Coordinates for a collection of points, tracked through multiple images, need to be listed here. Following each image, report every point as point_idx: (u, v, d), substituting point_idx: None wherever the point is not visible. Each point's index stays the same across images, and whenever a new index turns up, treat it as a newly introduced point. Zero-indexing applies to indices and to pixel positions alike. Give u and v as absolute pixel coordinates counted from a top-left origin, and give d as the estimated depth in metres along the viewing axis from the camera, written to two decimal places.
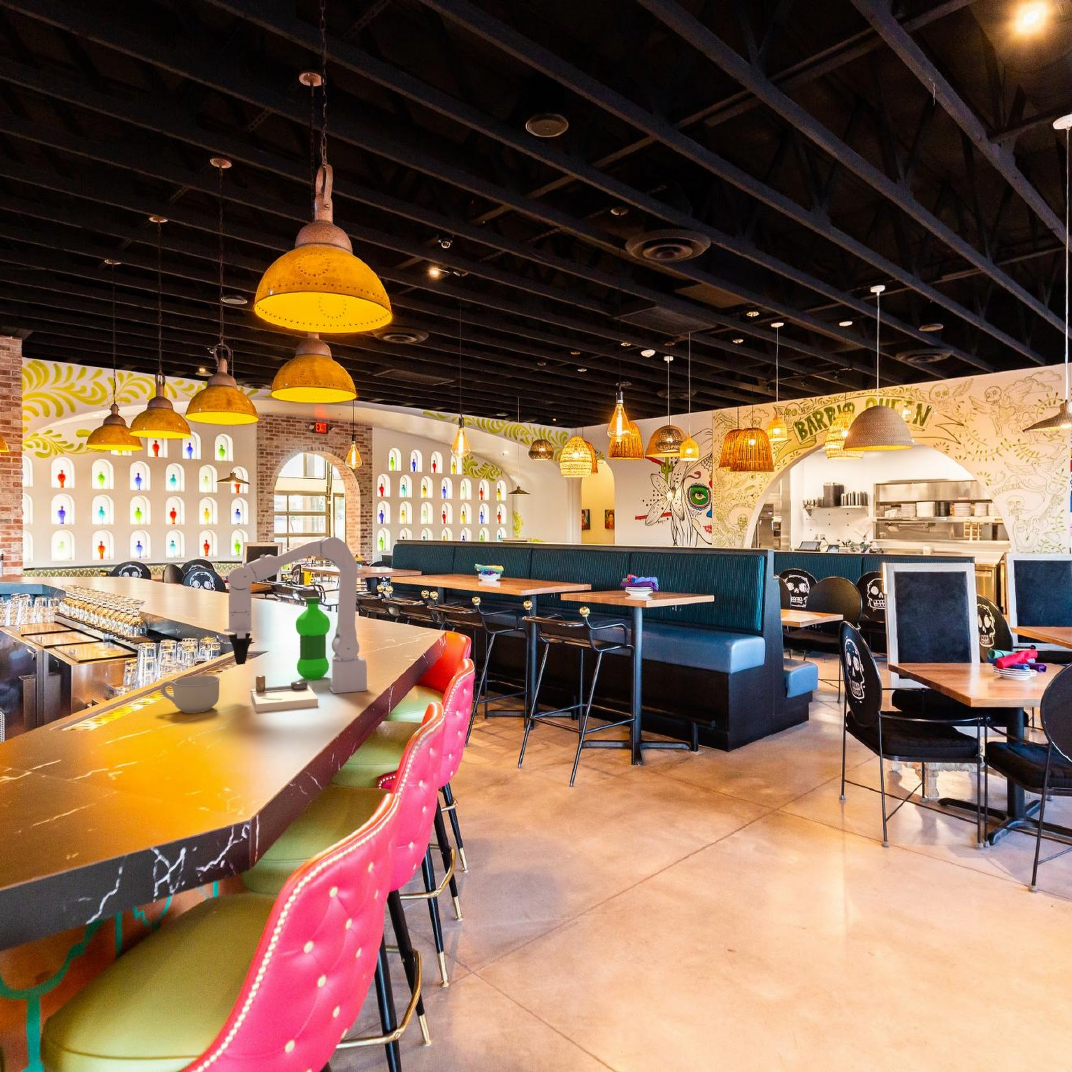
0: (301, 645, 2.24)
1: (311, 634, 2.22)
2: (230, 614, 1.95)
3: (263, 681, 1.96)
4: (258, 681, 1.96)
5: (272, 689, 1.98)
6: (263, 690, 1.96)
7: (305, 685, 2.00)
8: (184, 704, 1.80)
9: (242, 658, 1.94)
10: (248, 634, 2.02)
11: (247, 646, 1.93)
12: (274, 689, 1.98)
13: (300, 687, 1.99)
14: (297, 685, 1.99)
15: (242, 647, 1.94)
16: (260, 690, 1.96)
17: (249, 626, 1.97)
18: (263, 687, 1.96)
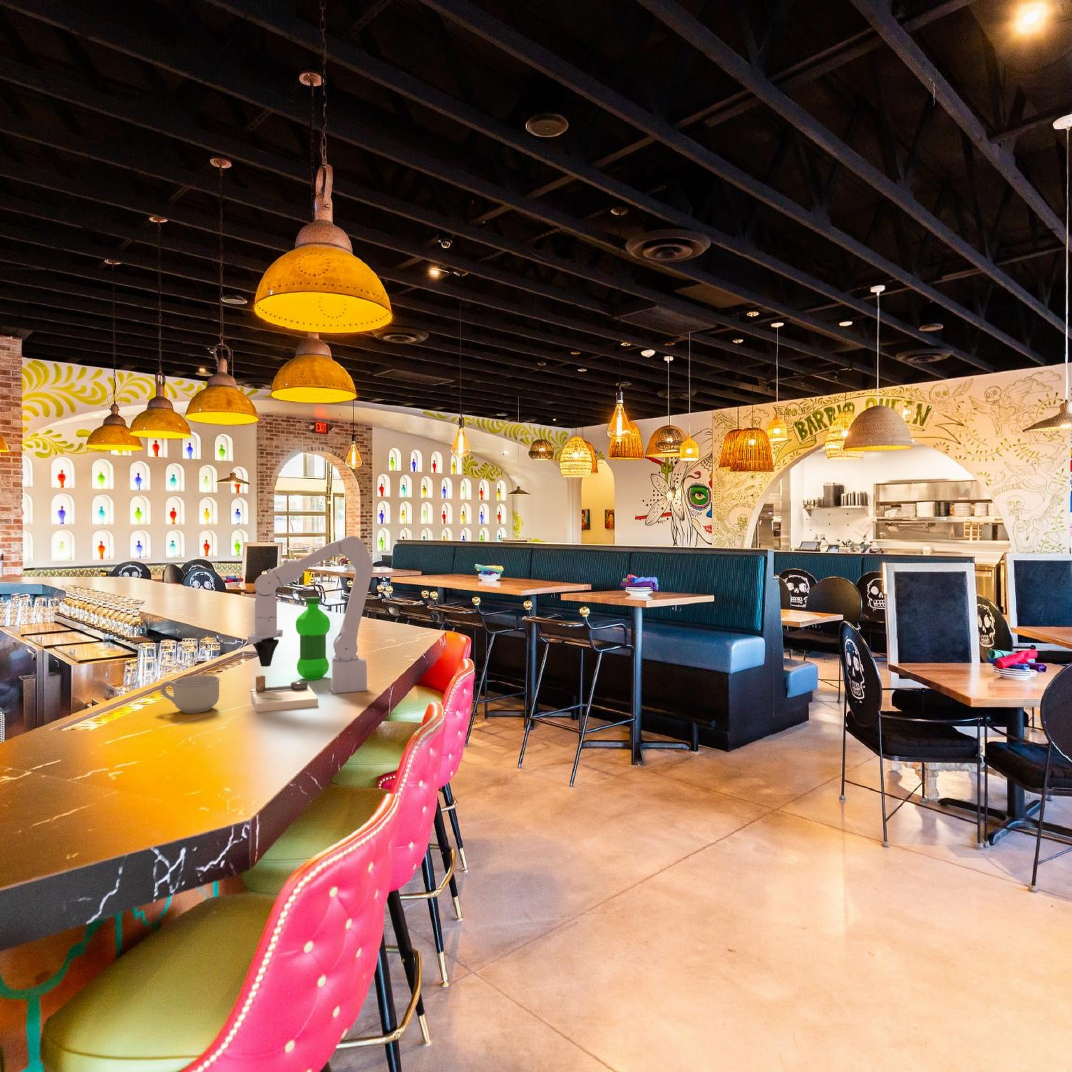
0: (301, 645, 2.24)
1: (311, 633, 2.22)
2: (255, 619, 2.02)
3: (263, 681, 1.96)
4: (258, 681, 1.96)
5: (272, 689, 1.98)
6: (263, 690, 1.96)
7: (305, 685, 2.00)
8: (184, 704, 1.80)
9: (265, 661, 2.02)
10: (273, 641, 2.03)
11: (267, 649, 2.01)
12: (274, 689, 1.98)
13: (300, 687, 1.99)
14: (297, 685, 1.99)
15: (265, 650, 2.02)
16: (260, 690, 1.96)
17: (270, 632, 2.01)
18: (263, 687, 1.96)
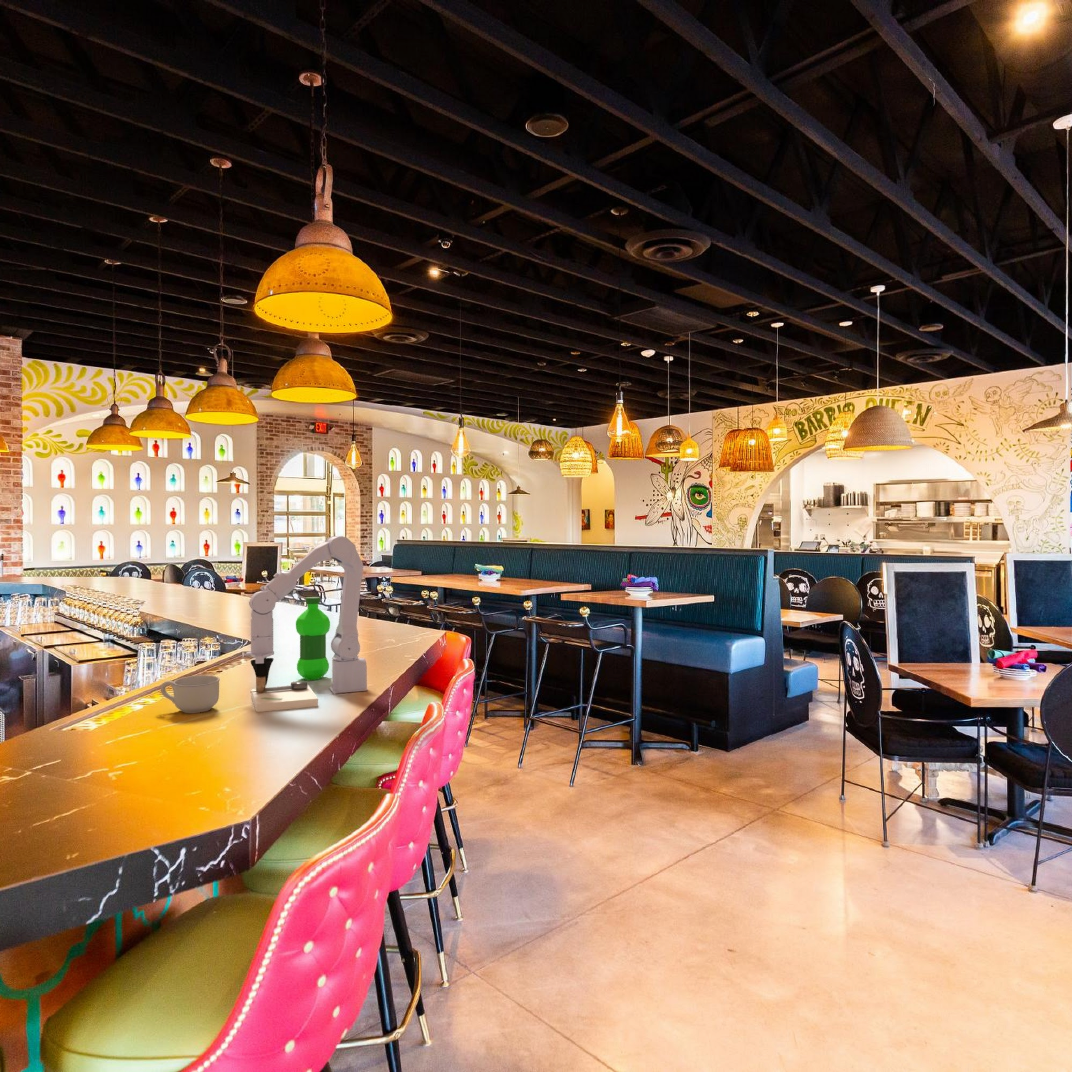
0: (301, 645, 2.24)
1: (311, 634, 2.22)
2: (251, 638, 1.97)
3: (263, 681, 1.96)
4: (258, 681, 1.95)
5: (272, 689, 1.97)
6: (263, 690, 1.96)
7: (305, 685, 2.00)
8: (184, 704, 1.80)
9: None
10: (271, 660, 1.99)
11: (267, 668, 1.98)
12: (274, 689, 1.97)
13: (301, 687, 1.99)
14: (297, 685, 1.99)
15: (263, 669, 1.98)
16: (261, 690, 1.95)
17: (270, 650, 1.98)
18: (263, 687, 1.96)
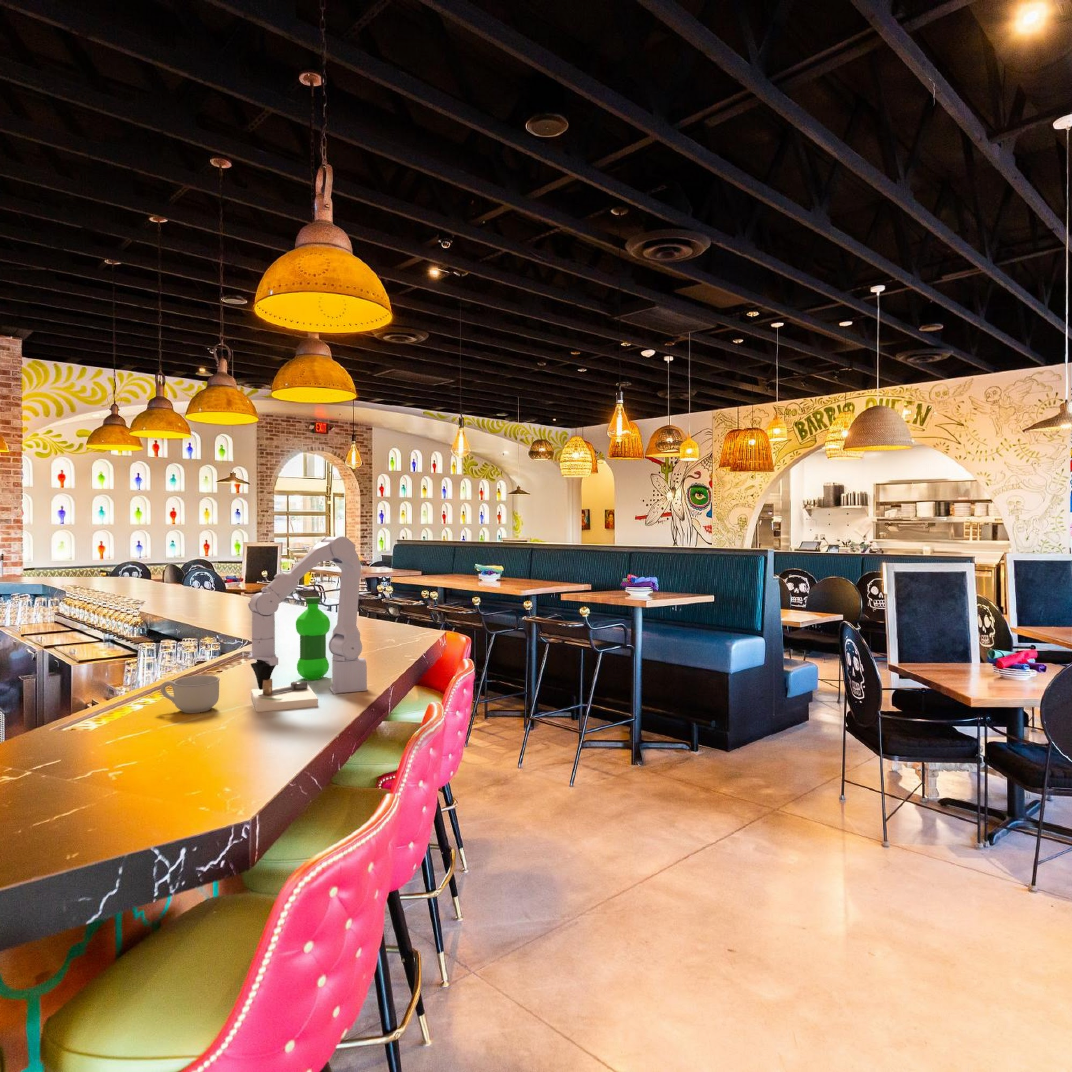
0: (301, 645, 2.24)
1: (311, 633, 2.22)
2: (256, 641, 1.92)
3: (271, 684, 1.93)
4: (267, 684, 1.92)
5: (278, 691, 1.95)
6: (271, 693, 1.93)
7: (307, 684, 2.01)
8: (184, 704, 1.80)
9: None
10: None
11: (271, 671, 1.94)
12: (280, 691, 1.95)
13: (304, 687, 2.00)
14: (301, 685, 1.99)
15: (265, 672, 1.94)
16: (269, 693, 1.92)
17: (274, 652, 1.95)
18: (271, 690, 1.93)
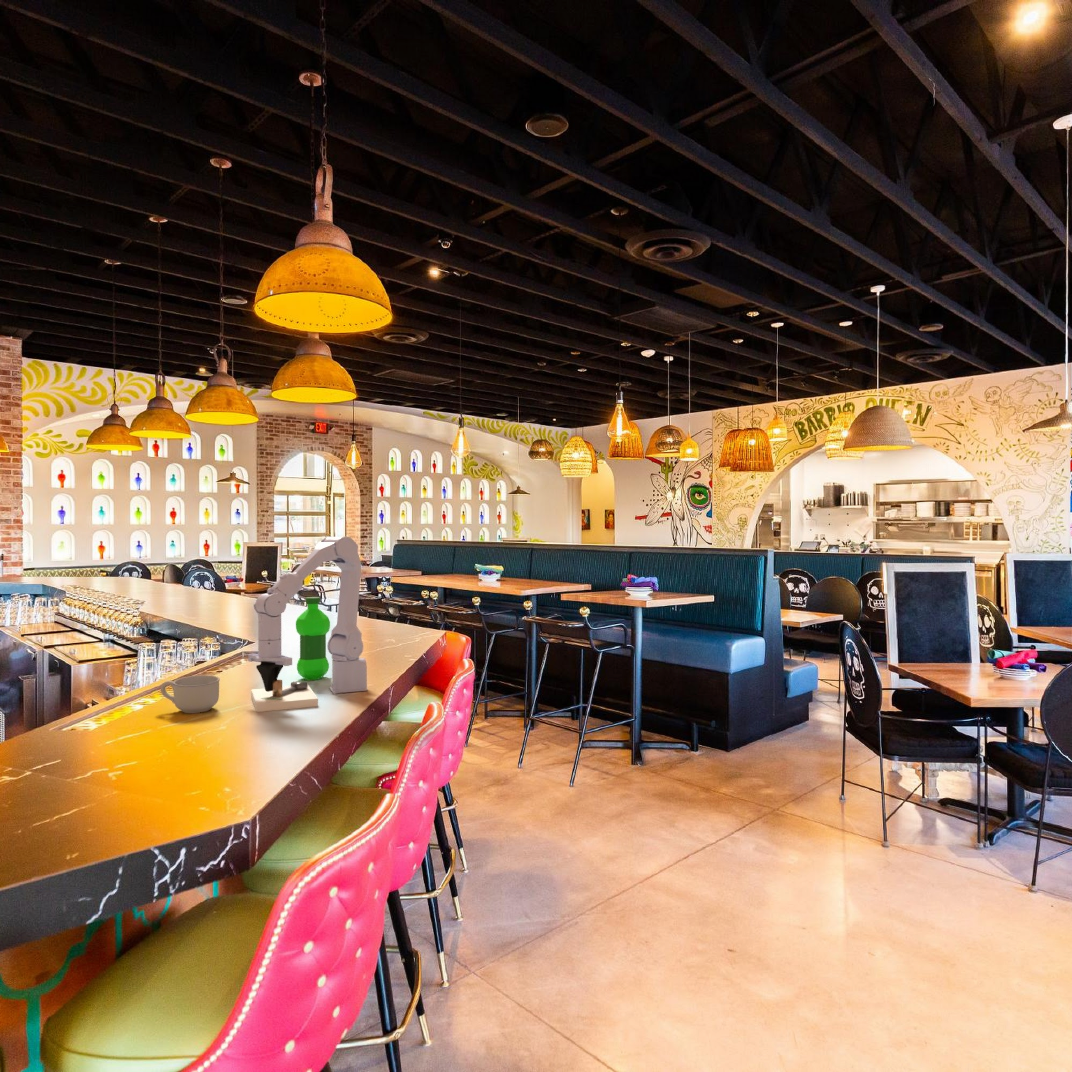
0: (301, 645, 2.24)
1: (311, 633, 2.22)
2: (265, 642, 1.90)
3: None
4: (279, 685, 1.91)
5: (286, 692, 1.94)
6: (282, 694, 1.92)
7: (307, 684, 2.02)
8: (184, 704, 1.80)
9: (272, 684, 1.92)
10: None
11: (279, 672, 1.93)
12: (287, 692, 1.95)
13: (306, 686, 2.01)
14: (304, 684, 2.00)
15: (272, 673, 1.92)
16: (281, 694, 1.91)
17: None
18: (282, 691, 1.92)
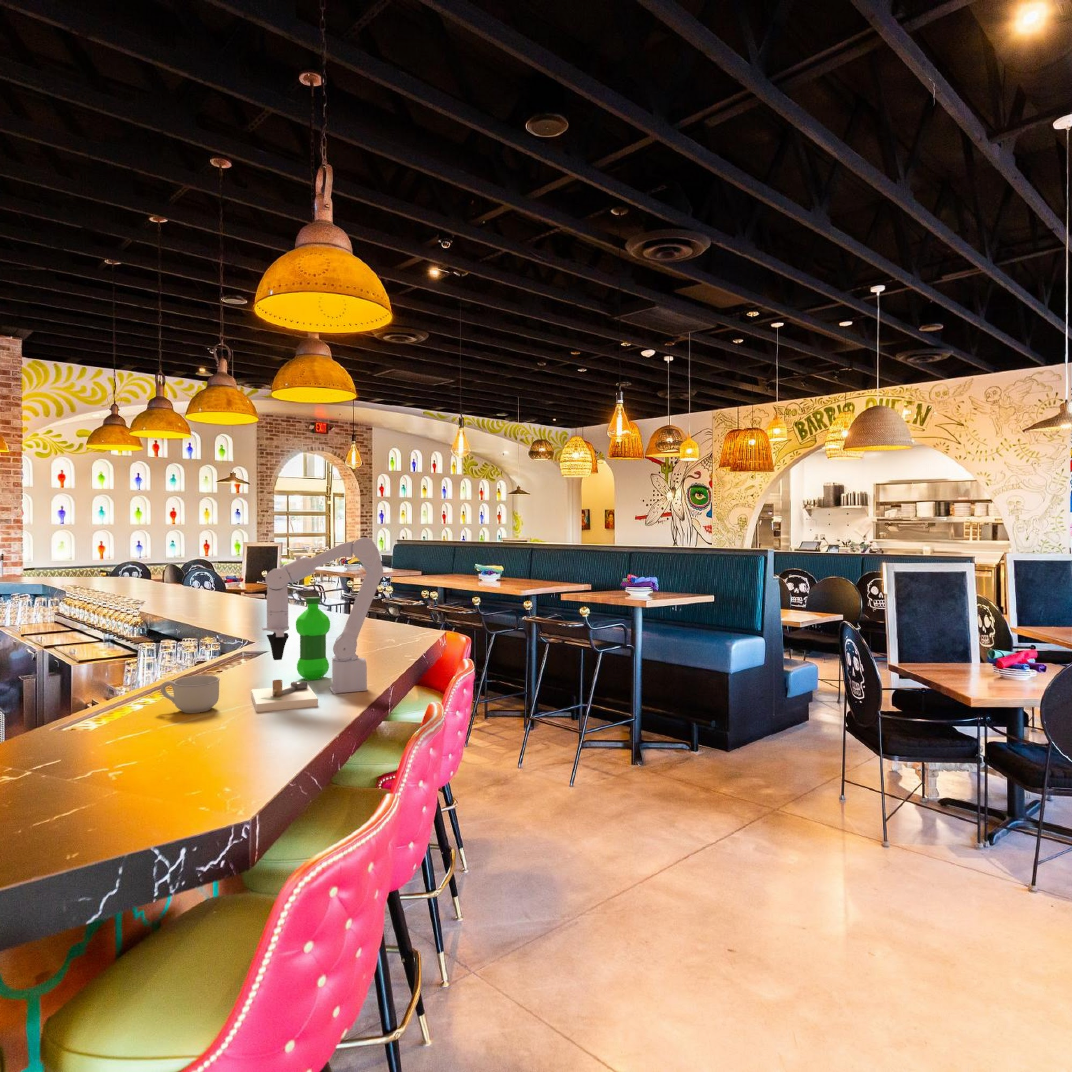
0: (301, 645, 2.24)
1: (311, 633, 2.22)
2: (268, 613, 2.03)
3: None
4: (279, 685, 1.91)
5: (286, 692, 1.94)
6: (282, 694, 1.92)
7: (307, 684, 2.02)
8: (184, 704, 1.80)
9: (279, 654, 2.05)
10: (286, 634, 2.06)
11: (284, 643, 2.04)
12: (287, 692, 1.95)
13: (306, 686, 2.01)
14: (304, 684, 2.00)
15: (279, 643, 2.05)
16: (281, 694, 1.91)
17: (286, 625, 2.05)
18: (282, 691, 1.92)
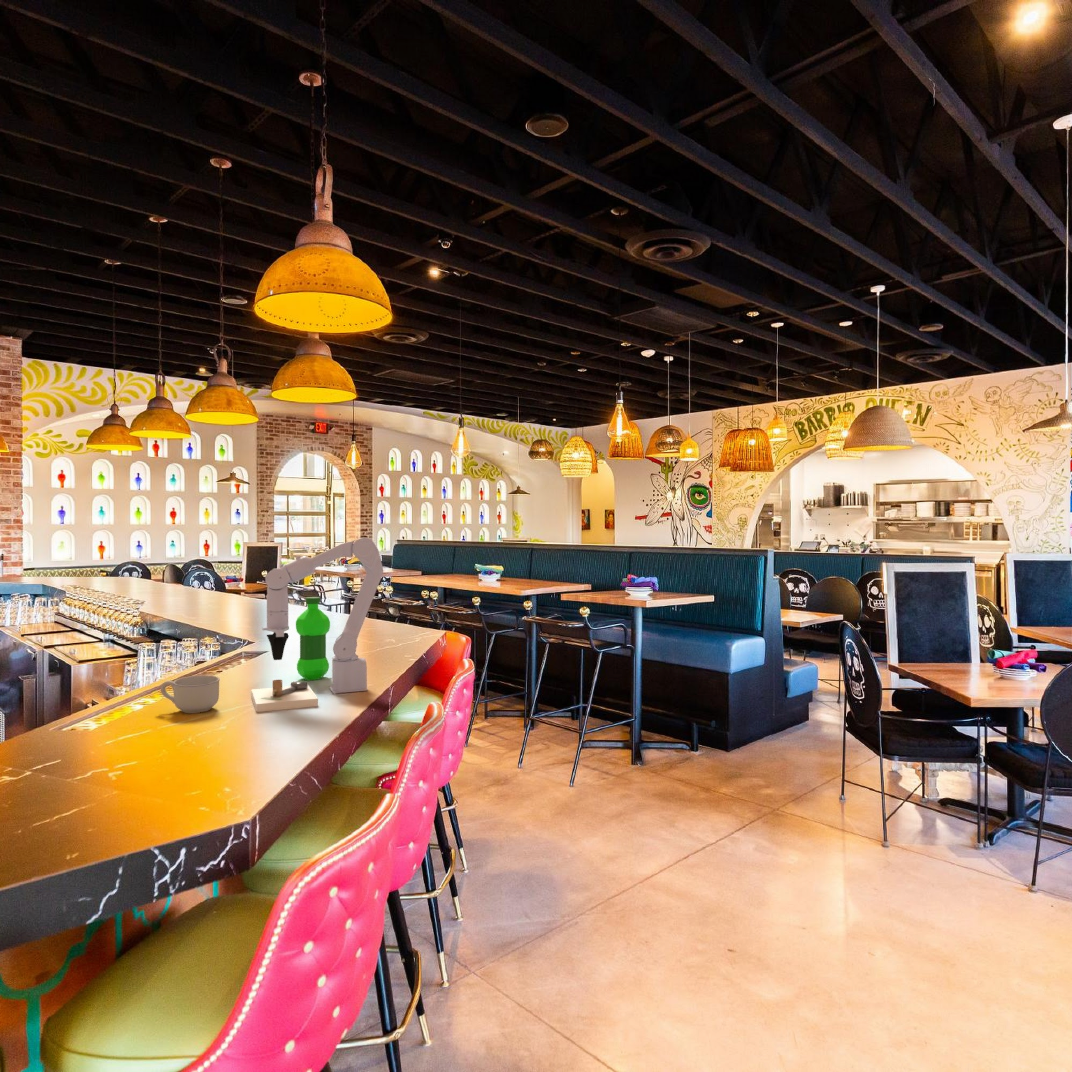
0: (301, 645, 2.24)
1: (311, 633, 2.22)
2: (268, 613, 2.03)
3: None
4: (279, 685, 1.91)
5: (286, 692, 1.94)
6: (282, 694, 1.92)
7: (307, 684, 2.02)
8: (184, 704, 1.80)
9: (279, 654, 2.05)
10: (286, 634, 2.06)
11: (284, 643, 2.04)
12: (287, 692, 1.95)
13: (306, 686, 2.01)
14: (304, 684, 2.00)
15: (279, 643, 2.05)
16: (281, 694, 1.91)
17: (286, 625, 2.05)
18: (282, 691, 1.92)
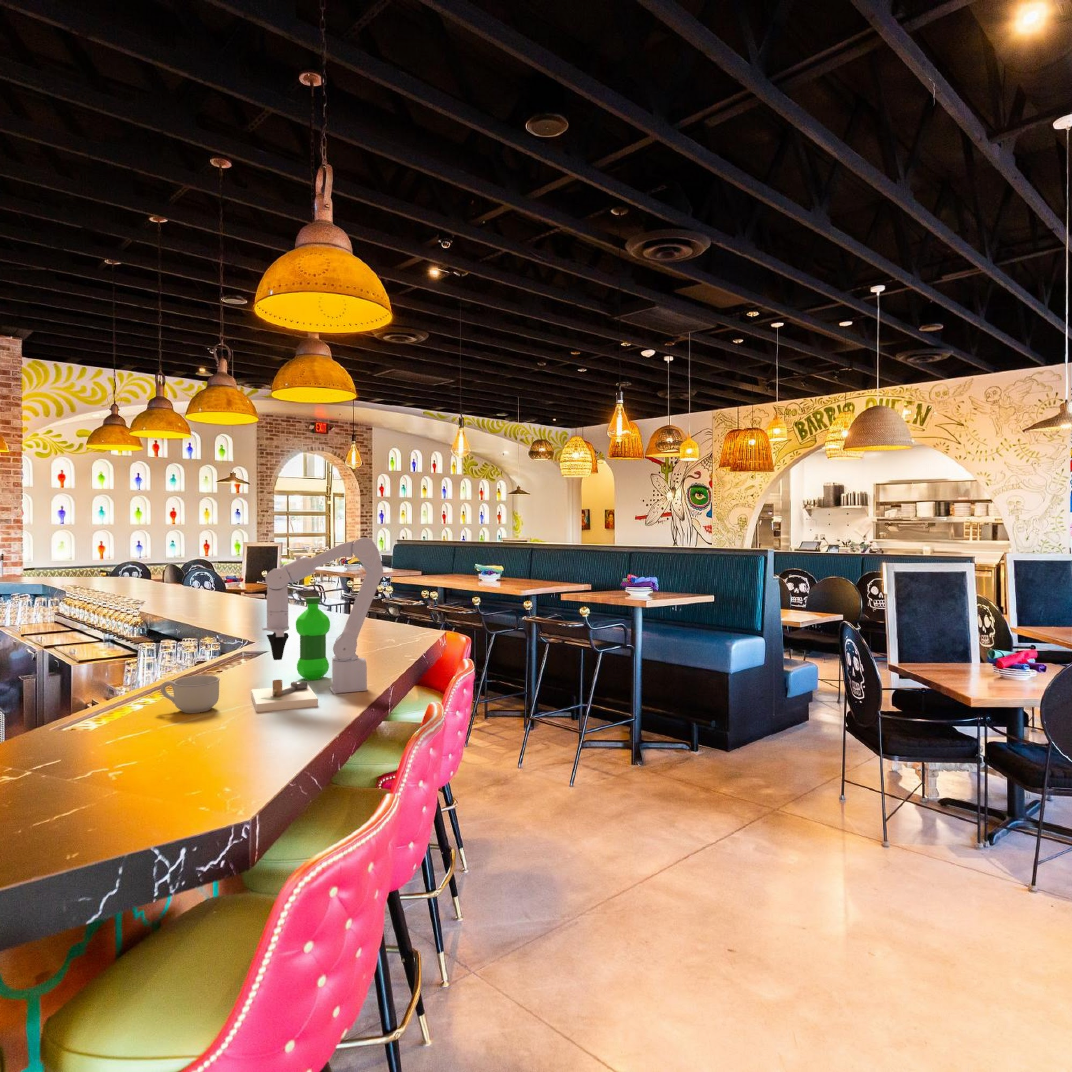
0: (301, 645, 2.24)
1: (311, 634, 2.22)
2: (268, 613, 2.03)
3: None
4: (279, 685, 1.91)
5: (286, 692, 1.94)
6: (282, 694, 1.92)
7: (307, 684, 2.02)
8: (184, 704, 1.80)
9: (279, 654, 2.05)
10: (286, 634, 2.06)
11: (284, 643, 2.04)
12: (287, 692, 1.95)
13: (306, 686, 2.01)
14: (304, 684, 2.00)
15: (279, 643, 2.05)
16: (281, 694, 1.91)
17: (286, 625, 2.05)
18: (282, 691, 1.92)
